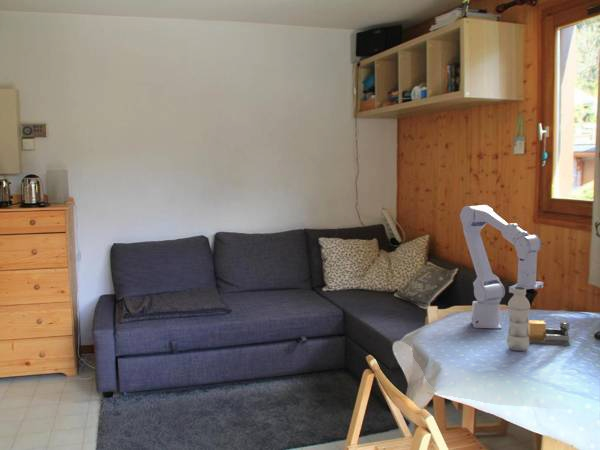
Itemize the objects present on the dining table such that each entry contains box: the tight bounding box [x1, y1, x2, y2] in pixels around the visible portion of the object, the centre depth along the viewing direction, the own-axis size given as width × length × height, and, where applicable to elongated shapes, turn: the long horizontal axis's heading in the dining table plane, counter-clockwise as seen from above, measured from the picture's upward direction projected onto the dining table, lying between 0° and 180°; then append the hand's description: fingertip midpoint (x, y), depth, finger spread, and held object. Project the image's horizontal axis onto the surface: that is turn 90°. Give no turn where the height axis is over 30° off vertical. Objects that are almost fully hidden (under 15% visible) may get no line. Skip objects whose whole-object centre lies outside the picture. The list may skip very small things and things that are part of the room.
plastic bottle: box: [506, 287, 531, 352], centre depth 179 cm, size 6×7×20 cm
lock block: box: [528, 319, 547, 338], centre depth 190 cm, size 5×4×5 cm
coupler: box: [528, 321, 571, 346], centre depth 189 cm, size 13×10×6 cm
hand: (525, 311), depth 190 cm, fingers closed
